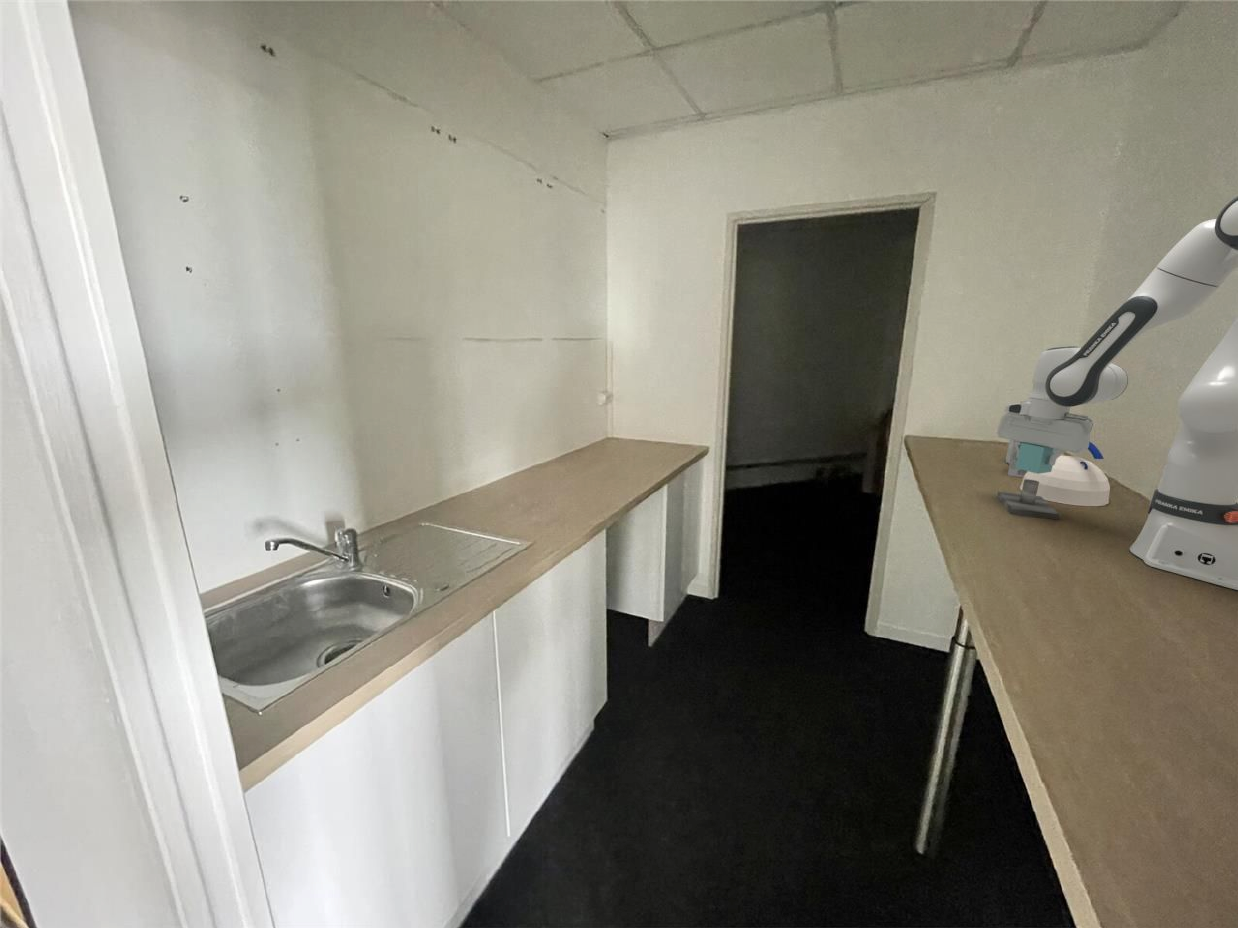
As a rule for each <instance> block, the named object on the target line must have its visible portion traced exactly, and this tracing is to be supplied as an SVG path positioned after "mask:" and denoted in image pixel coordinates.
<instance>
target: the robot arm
mask: <svg viewBox="0 0 1238 928" xmlns="http://www.w3.org/2000/svg"><path fill="white" fill-rule="evenodd" d="M1237 268H1238V195H1237V196H1236V197H1234V198H1233V199H1232V200H1231V201H1229V202H1228V203H1227V204H1226V205H1225V206H1224V207H1223V208H1222V209H1221V211H1220V212H1219V214H1218V216H1217V217H1216V218H1213V219H1209V220H1205V221H1202V222H1200V223H1198V224H1197V225H1196V226H1194V227H1193V228H1192V229H1191V230H1190V231H1188V233H1186V235H1185V236H1183V237H1182V238H1181V239H1180V240H1179V241H1178V242H1177V243H1176V244H1175V245H1174V246H1173V247H1172V248H1171V249H1170V250H1169V251H1168V252H1167V253H1166V255H1165V256H1164V257H1163V258H1162V259H1161V260H1160V262H1158V263H1157V265H1156V266H1155V268H1154V269H1153V270H1152V271H1151V272H1150V273H1149V274H1148V276H1147V277H1146V278H1145V279H1144V281H1143V282H1142V283H1141V284H1140V286H1139V287H1137V289H1136V290H1135V291H1134V292H1133V293H1132V294H1131V296H1130V297H1129V298H1128V299H1126V301H1124V302H1123V304H1122V305H1121V306H1120V307H1118V309H1116V311H1114V313H1112V315H1110V317H1109V318H1108V319H1107V320H1105V322H1104V323H1103V324H1102V325H1101V326H1100V327H1099V328H1098V329H1097V331H1096V332H1095V333H1094V334H1093V335H1092V336H1091V337H1090V338H1089V339H1088V340H1087V342H1086V343H1085V344H1084V345H1083V346H1082V347H1080V346H1072V345H1071V346H1070V345H1069V346H1059V347H1058V346H1057V347H1050V348H1048V349H1046V350H1044V351H1042V353H1041V354H1040V356H1039V358H1038V360H1037V363H1036V365H1035V369H1034V371H1033V372H1034V373H1033V377H1032V389H1031V392H1030V393H1029V395H1028V399H1027V401H1020V402H1017V403H1010V404H1007V405H1005V407H1004V411H1005V412H1006V413H1005V412H1004V414H1003V415H1002V416H1001V417H1000V421H999V423H998V427H997V432H996V433H997V435H998V437H999V438H1001V439H1006V440H1015V444H1014V445H1015V447H1016V450H1017V451H1018V452H1017V456H1016V457H1017V458H1018V454H1019V450H1020V446H1021V443H1029V444H1034V445H1039V446H1044V447H1049V448H1053V453H1054V454H1053V455H1052V456H1051V457H1049V458H1046V462H1045V464H1047V465H1051V466H1052V465H1055V462H1056V459H1057V458H1058V457H1059V456H1061V455H1062V454H1063V452H1064V453H1065V452H1070V453H1075V454H1080V453H1084V452H1086V451H1087V450H1088V447H1089V441H1090V440H1091V432H1092V430H1093V427H1094V422H1093V420H1092V419H1091V418H1090V417H1088V416H1087V415H1083V414H1081V415H1079V414H1077V413H1076V414H1075V413H1070V411H1071V407H1076V406H1081V405H1085V404H1086V405H1087V404H1089V405H1090V404H1095V403H1096V404H1097V403H1103V402H1104V403H1105V402H1109V401H1111V400H1115V399H1117V398H1118V397H1120V396H1121V395H1122V394H1124V392H1125V391H1126V389H1127V387H1128V383H1129V377H1128V374H1127V372H1126V371H1125V369H1124V368H1122V367H1121V366H1119V365H1118V364H1115V363H1112V362H1113V361H1114V360H1115V359H1116V358H1117V357H1118V356H1120V355H1121V353H1122V352H1123V351H1125V349H1126V348H1127V347H1128V346H1129V344H1131V343H1132V342H1133V341H1134V340H1135V339H1137V338H1138V337H1139V336H1141V335H1142V334H1144V333H1146V332H1148V331H1149V330H1151V329H1154V328H1156V327H1158V326H1159V327H1160V326H1161V325H1163V324H1166V323H1170V322H1172V321H1176V320H1179V319H1181V318H1184V317H1187V316H1188V315H1190V314H1191V313H1193V312H1194V311H1195V310H1196V309H1198V308H1199V307H1201V306H1202V305H1203V304H1204V303H1205V302H1206V301H1207V300H1208V299H1209V298H1211V296H1212V295H1214V293H1215V292H1216V291H1217V290H1218V288H1219V287H1220V286H1221V285H1222V284H1223V283H1224V282H1225V281H1226V280H1227V279H1228V277H1229V276H1230V275H1231V274H1232V273H1233V272H1234V271H1235V270H1236V269H1237ZM1177 413H1178V416H1179V418H1180V419H1181V420H1180V424H1179V426H1178V428H1177V432H1176V434H1175V437H1174V438H1173V441H1172V444H1171V447H1170V449H1169V451H1168V453H1167V455H1166V459H1165V462H1164V465H1163V470H1162V473H1161V477H1160V481H1159V484H1158V487H1157V489H1154V491H1153V494H1152V496H1151V499H1150V501H1149V505H1148V512H1147V513H1148V516H1147V518H1146V521H1145V523H1144V525H1143V528H1142V530H1140V533H1139V534H1138V536H1137V537H1136V539H1135V541H1134V542H1133V543H1132V545H1131V546H1130V547H1129V551H1130V552H1131V553H1132V554H1133V555H1134V556H1135V557H1138V558H1140V559H1141V560H1143V562H1144V563H1145V564H1146V565H1147V566H1149V567H1153V568H1155V569H1160V570H1163V571H1167V572H1170V573H1174V574H1177V575H1181V576H1185V577H1187V578H1188V577H1189V578H1192V579H1196V580H1199V581H1203V582H1206V583H1211V584H1214V585H1218V586H1221V587H1225V588H1228V589H1233V590H1234V591H1235V590H1236V591H1238V502H1237V501H1238V316H1237V317H1236V318H1235V320H1234V321H1233V323H1231V326H1230V327H1229V329H1228V331H1227V332H1226V333H1225V335H1224V336H1223V338H1222V339H1221V340H1220V342H1219V343H1218V345H1216V347H1215V348H1214V349H1213V351H1212V352H1211V354H1210V355H1209V356H1208V358H1207V359H1206V360H1205V361H1204V363H1203V365H1202V366H1201V367H1200V369H1199V370H1198V371H1197V372H1196V374H1195V376H1194V377H1193V378H1192V379H1191V381H1190V382H1189V383H1188V385H1187V387H1186V388H1185V389H1184V391H1183V392H1182V394H1181V395H1180V397H1179V399H1178V402H1177ZM1090 442H1091V441H1090Z"/></svg>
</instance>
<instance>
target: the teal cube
mask: <svg viewBox="0 0 1238 928" xmlns="http://www.w3.org/2000/svg"><path fill="white" fill-rule="evenodd" d="M1053 454H1054V453H1053V448H1049V447H1044V446H1039V445H1034V444H1029V443H1021V446H1020V450H1019V454H1018V459H1017V463H1016V467H1015V468H1017V469H1021V470H1025V471H1029V472H1033V473H1037V474H1040V473H1047V472H1051V470H1052V466H1053V465H1052V466H1051V465H1047V464H1045V462H1046V458H1049V457H1051V456H1052V455H1053Z"/></svg>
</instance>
